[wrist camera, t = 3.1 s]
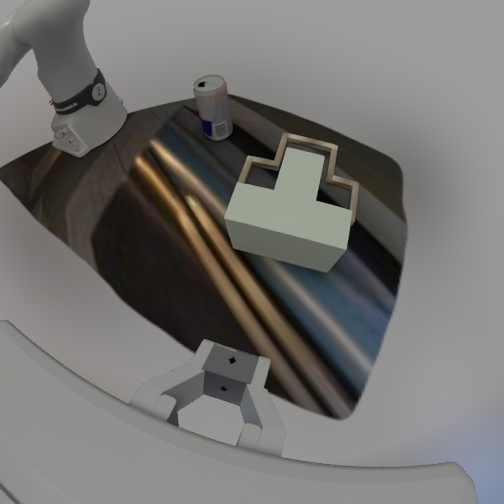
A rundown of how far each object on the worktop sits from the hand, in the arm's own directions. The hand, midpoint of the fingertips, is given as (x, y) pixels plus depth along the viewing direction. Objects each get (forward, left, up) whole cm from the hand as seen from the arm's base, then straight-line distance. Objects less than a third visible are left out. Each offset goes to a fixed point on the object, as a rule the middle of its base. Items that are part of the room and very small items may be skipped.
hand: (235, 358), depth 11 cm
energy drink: (-17, +34, -26) cm, 46 cm away
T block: (0, +19, -25) cm, 32 cm away
